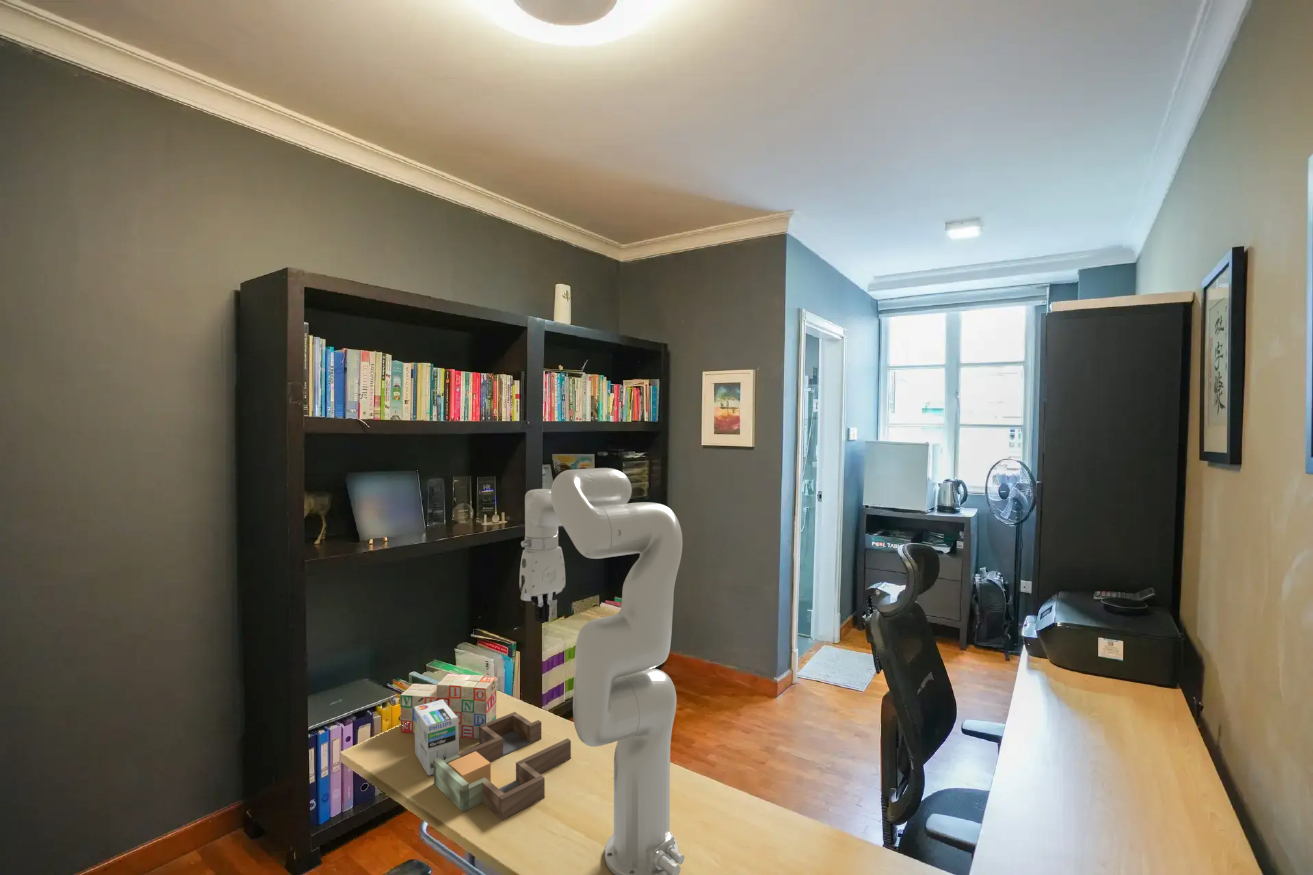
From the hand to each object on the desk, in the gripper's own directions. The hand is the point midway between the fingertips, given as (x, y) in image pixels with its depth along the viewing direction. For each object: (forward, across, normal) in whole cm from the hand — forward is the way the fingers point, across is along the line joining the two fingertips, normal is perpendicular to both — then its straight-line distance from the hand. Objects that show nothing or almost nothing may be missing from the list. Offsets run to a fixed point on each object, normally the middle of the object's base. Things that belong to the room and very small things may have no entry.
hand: (542, 621), depth 139 cm
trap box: (+27, -13, -6) cm, 31 cm away
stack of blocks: (+28, -14, +18) cm, 36 cm away
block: (+27, -22, -6) cm, 35 cm away
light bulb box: (+27, -22, +8) cm, 36 cm away
